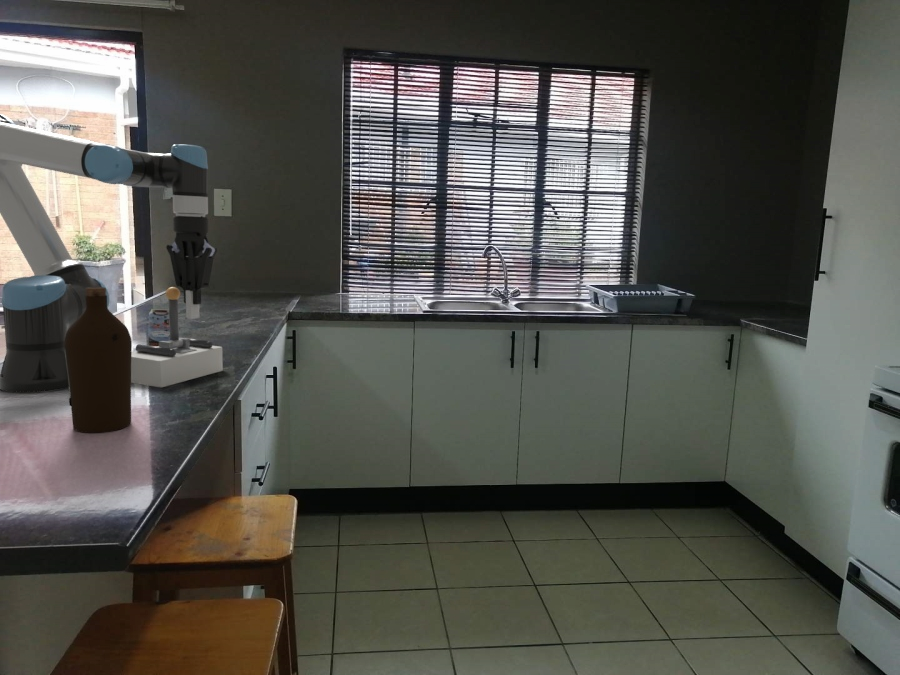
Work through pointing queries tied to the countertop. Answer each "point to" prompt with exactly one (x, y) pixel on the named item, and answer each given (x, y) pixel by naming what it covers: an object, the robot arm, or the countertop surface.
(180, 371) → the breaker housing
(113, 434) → the countertop surface
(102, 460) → the countertop surface
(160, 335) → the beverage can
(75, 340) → the olive oil
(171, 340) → the lever
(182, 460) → the countertop surface
